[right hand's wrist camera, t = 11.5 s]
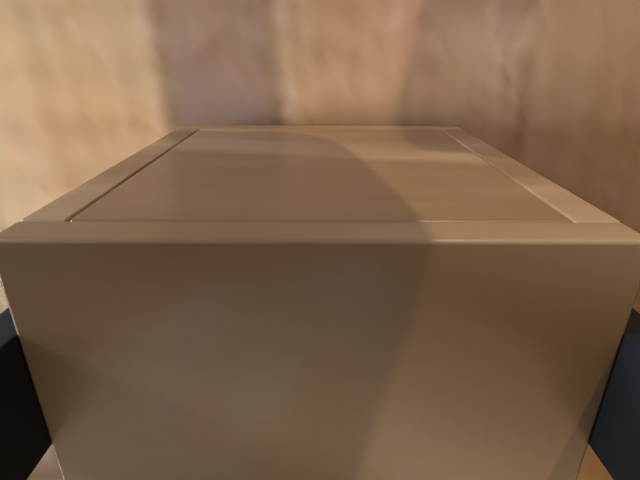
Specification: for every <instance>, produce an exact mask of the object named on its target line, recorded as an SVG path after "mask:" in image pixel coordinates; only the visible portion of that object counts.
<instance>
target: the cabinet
mask: <svg viewBox="0 0 640 480" xmlns="http://www.w3.org/2000/svg"><path fill="white" fill-rule="evenodd" d="M0 281H1V284H2V288H3V291H4V294H5V297H6V300H7V303H8V307H9V310H10V313H11V316H12V319H13V322H14V325H15V329H16V332H17V335H18V338H19V341H20V344H21V347H22V351H23V354H24V357H25V360H26V363H27V366H28V370H29V373H30V376H31V379H32V382H33V385H34V388H35V392H36V395H37V398H38V401H39V404H40V407H41V410H42V414H43V417H44V420H45V423H46V426H47V429H48V432H49V436H50V439H51V442H52V445H53V448H54V451H55V455H56V458H57V461H58V464H59V467H60V470H61V473H62V477H63V480H576V479H577V476H578V473H579V470H580V466H581V463H582V460H583V457H584V454H585V451H586V448H587V445H588V442H589V439H590V436H591V433H592V430H593V427H594V424H595V420H596V417H597V414H598V411H599V408H600V405H601V402H602V399H603V396H604V393H605V390H606V387H607V384H608V381H609V377H610V374H611V371H612V368H613V365H614V362H615V359H616V356H617V353H618V350H619V347H620V344H621V341H622V338H623V334H624V331H625V328H626V325H627V322H628V319H629V316H630V313H631V310H632V307H633V304H634V301H635V298H636V295H637V291H638V288H639V285H640V233H638V232H637V231H635V230H633V229H632V228H630V227H628V226H626V225H625V224H622V223H620V221H619V220H617V219H615V218H614V217H612V216H610V215H608V214H607V213H605V212H603V211H602V210H600V209H598V208H596V207H595V206H593V205H591V204H590V203H588V202H586V201H584V200H583V199H581V198H579V197H578V196H576V195H574V194H572V193H571V192H569V191H567V190H566V189H564V188H562V187H560V186H559V185H557V184H555V183H554V182H552V181H550V180H548V179H547V178H545V177H543V176H542V175H540V174H538V173H536V172H535V171H533V170H531V169H530V168H528V167H526V166H524V165H523V164H521V163H519V162H518V161H516V160H514V159H512V158H511V157H509V156H507V155H506V154H504V153H502V152H500V151H499V150H497V149H495V148H494V147H492V146H490V145H488V144H487V143H485V142H483V141H482V140H480V139H478V138H476V137H475V136H473V135H471V134H470V133H468V132H466V131H464V130H463V129H461V128H459V127H457V126H345V125H183V126H181V127H180V128H178V129H176V130H175V131H173V132H171V133H169V134H168V135H166V136H164V137H163V138H161V139H159V140H157V141H156V142H154V143H152V144H151V145H149V146H147V147H145V148H144V149H142V150H140V151H139V152H137V153H135V154H133V155H132V156H130V157H128V158H127V159H125V160H123V161H121V162H120V163H118V164H116V165H114V166H113V167H111V168H109V169H108V170H106V171H104V172H102V173H101V174H99V175H97V176H96V177H94V178H92V179H90V180H89V181H87V182H85V183H84V184H82V185H80V186H78V187H77V188H75V189H73V190H72V191H70V192H68V193H66V194H65V195H63V196H61V197H60V198H58V199H56V200H54V201H53V202H51V203H49V204H47V205H46V206H44V207H42V208H41V209H39V210H37V211H35V212H34V213H32V214H30V215H29V216H27V217H25V218H23V219H22V220H21V222H17V223H15V224H14V225H12V226H10V227H9V228H7V229H5V230H3V231H2V232H0Z"/></svg>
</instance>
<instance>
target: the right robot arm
mask: <svg viewBox="0 0 640 480" xmlns="http://www.w3.org/2000/svg"><path fill="white" fill-rule="evenodd" d="M588 443H589V445H590V446H591V448H592V449H593V450H594V452H595V453H596V455H597V456H598V458H599V459H600V460H601V462H602V463H603V465H604V466H605V468H606V469H607V470H608V472H609V473H610V475H611V476H612V478H613V479H614V480H640V314H639V313H638V312H637V311H635V310H634V309H633V308H632V310H631V313H630V316H629V319H628V322H627V325H626V328H625V331H624V334H623V338H622V341H621V344H620V347H619V350H618V353H617V356H616V359H615V362H614V365H613V368H612V371H611V374H610V377H609V381H608V384H607V387H606V390H605V393H604V396H603V399H602V402H601V405H600V408H599V411H598V414H597V417H596V420H595V424H594V427H593V430H592V433H591V436H590V439H589V442H588ZM51 444H52V442H51V439H50V436H49V432H48V429H47V426H46V423H45V420H44V417H43V414H42V410H41V407H40V404H39V401H38V398H37V395H36V392H35V388H34V385H33V382H32V379H31V376H30V373H29V370H28V366H27V363H26V360H25V357H24V354H23V351H22V347H21V344H20V341H19V338H18V335H17V332H16V329H15V325H14V322H13V319H12V316H11V313H10V310H9V308H8V309H6V310H5V311H4V312H3V313H1V314H0V480H27V478H28V477H29V475H30V474H31V473H32V471H33V470H34V468H35V467H36V465H37V464H38V463H39V461H40V460H41V458H42V457H43V455H44V454H45V453H46V451H47V450H48V448H49V447H50V445H51Z"/></svg>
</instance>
